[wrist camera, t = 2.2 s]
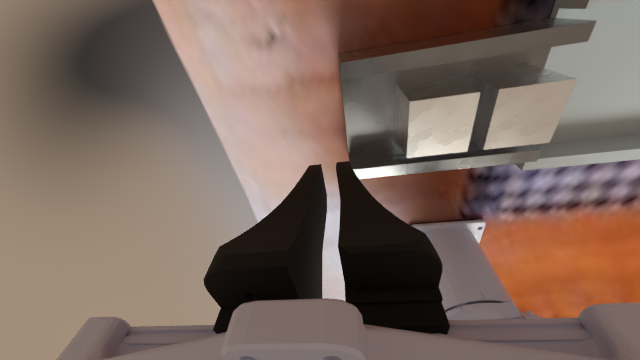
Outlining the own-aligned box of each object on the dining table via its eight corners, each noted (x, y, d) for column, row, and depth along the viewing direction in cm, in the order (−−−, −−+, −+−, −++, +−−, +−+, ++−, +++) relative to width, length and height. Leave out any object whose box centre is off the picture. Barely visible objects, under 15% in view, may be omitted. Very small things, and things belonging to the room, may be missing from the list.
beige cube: (512, 119, 19) (549, 142, 16) (458, 125, 19) (483, 149, 16) (530, 64, 17) (577, 78, 13) (468, 73, 17) (499, 89, 14)
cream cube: (445, 127, 20) (467, 151, 16) (395, 133, 20) (406, 158, 17) (453, 75, 17) (480, 91, 14) (396, 84, 18) (409, 101, 15)
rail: (509, 140, 21) (536, 161, 18) (349, 158, 23) (351, 179, 20) (550, 17, 16) (597, 20, 13) (338, 53, 18) (338, 63, 15)
